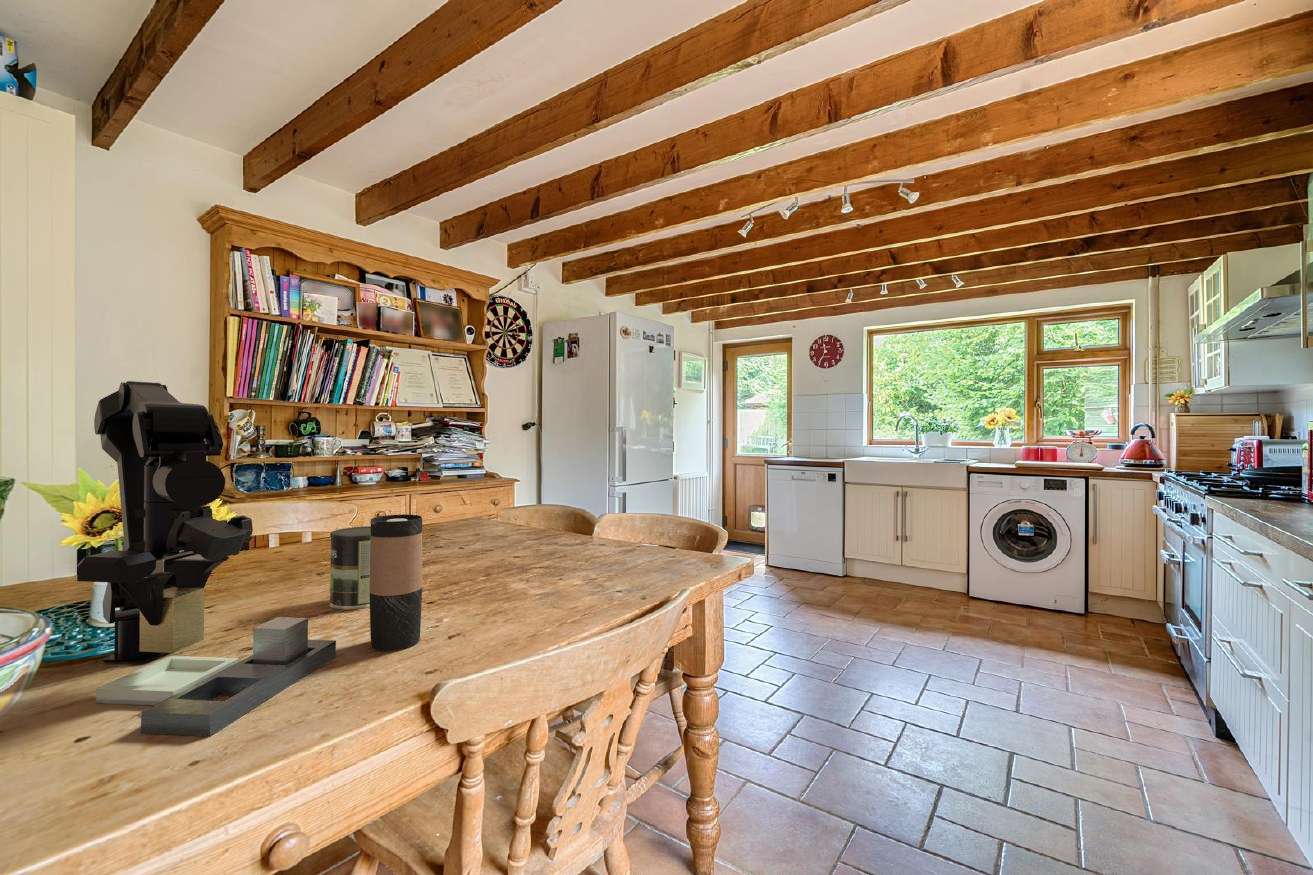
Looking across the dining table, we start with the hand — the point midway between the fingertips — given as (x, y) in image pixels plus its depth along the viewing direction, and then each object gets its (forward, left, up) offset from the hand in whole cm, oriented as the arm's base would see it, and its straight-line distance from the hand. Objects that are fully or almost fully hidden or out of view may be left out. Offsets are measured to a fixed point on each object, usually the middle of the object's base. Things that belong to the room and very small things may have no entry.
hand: (172, 618), depth 73 cm
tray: (0, 0, -9) cm, 9 cm away
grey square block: (+11, +5, -9) cm, 15 cm away
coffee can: (+3, +37, -9) cm, 38 cm away
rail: (+11, 0, -9) cm, 14 cm away
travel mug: (+21, +17, -9) cm, 28 cm away
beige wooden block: (0, 0, -4) cm, 4 cm away
